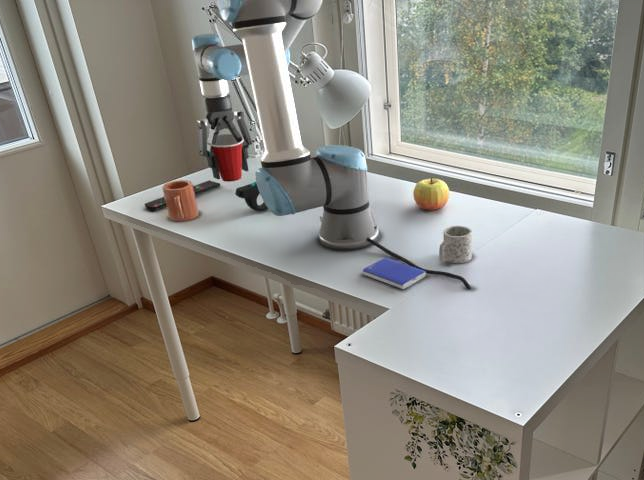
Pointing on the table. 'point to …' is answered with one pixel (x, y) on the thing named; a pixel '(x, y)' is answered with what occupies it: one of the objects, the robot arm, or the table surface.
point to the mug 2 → (456, 245)
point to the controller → (251, 196)
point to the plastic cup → (228, 157)
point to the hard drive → (394, 273)
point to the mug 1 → (180, 200)
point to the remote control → (197, 190)
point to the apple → (431, 194)
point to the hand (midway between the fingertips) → (231, 174)
